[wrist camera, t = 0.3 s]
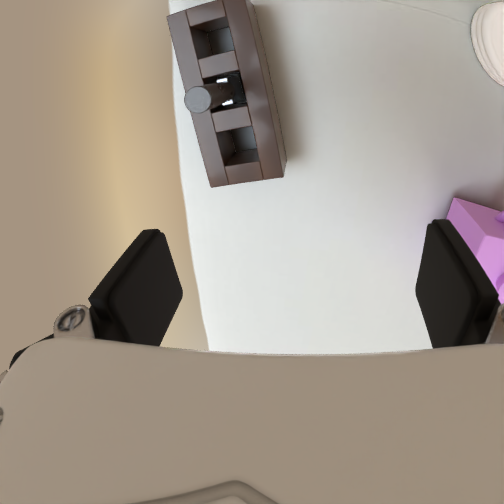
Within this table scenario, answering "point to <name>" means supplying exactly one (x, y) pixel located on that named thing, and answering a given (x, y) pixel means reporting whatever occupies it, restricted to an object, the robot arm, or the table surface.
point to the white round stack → (490, 39)
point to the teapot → (482, 237)
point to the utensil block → (238, 115)
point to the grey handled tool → (214, 94)
